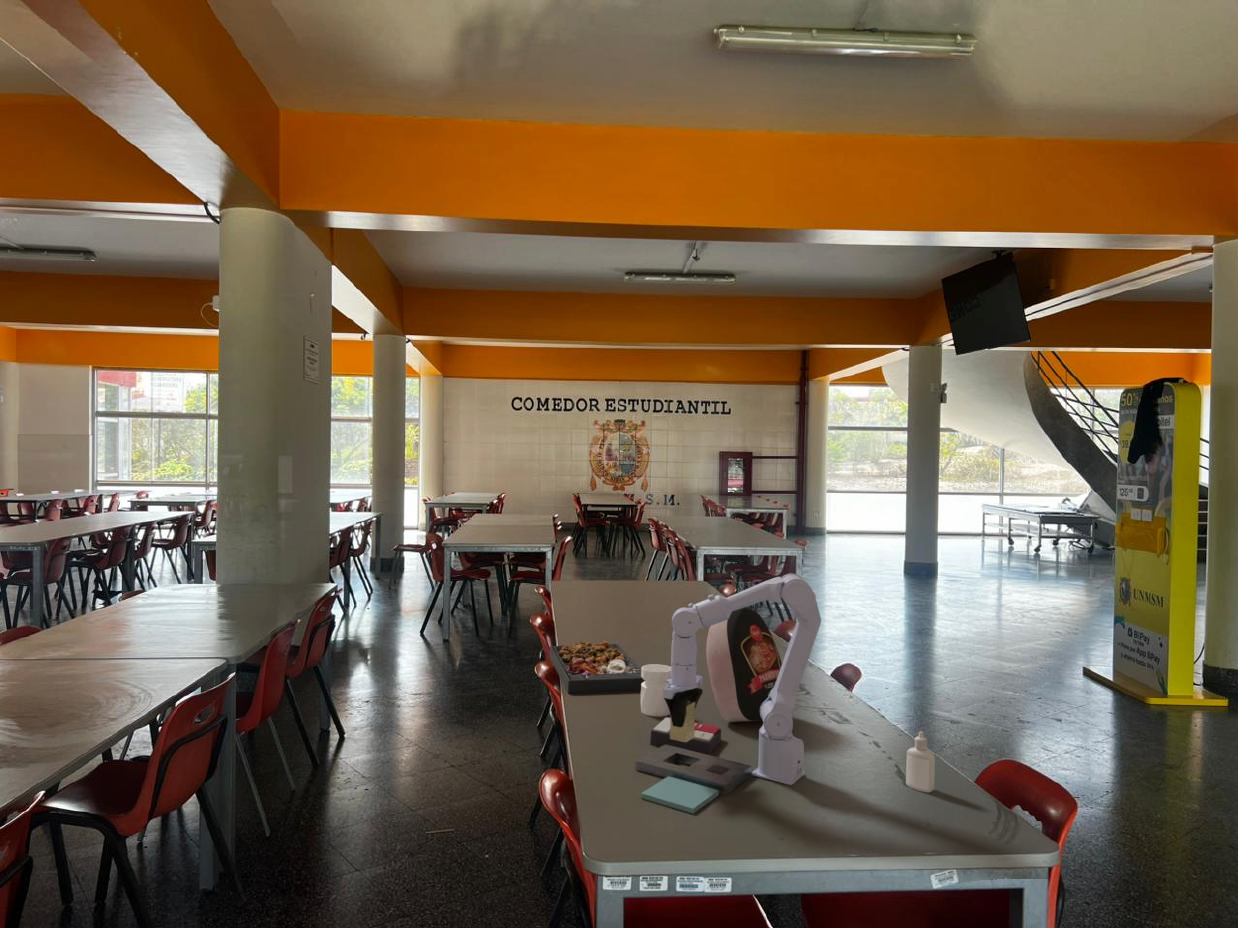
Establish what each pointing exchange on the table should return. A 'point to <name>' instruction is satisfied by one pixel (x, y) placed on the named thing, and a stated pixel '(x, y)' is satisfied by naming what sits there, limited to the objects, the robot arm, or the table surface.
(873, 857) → the table surface
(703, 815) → the table surface
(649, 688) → the white jar
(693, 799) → the pad
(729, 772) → the grey square-hole board
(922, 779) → the eye dropper bottle
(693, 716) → the wooden block
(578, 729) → the table surface
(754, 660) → the packaged food
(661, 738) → the calculator
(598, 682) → the food platter
